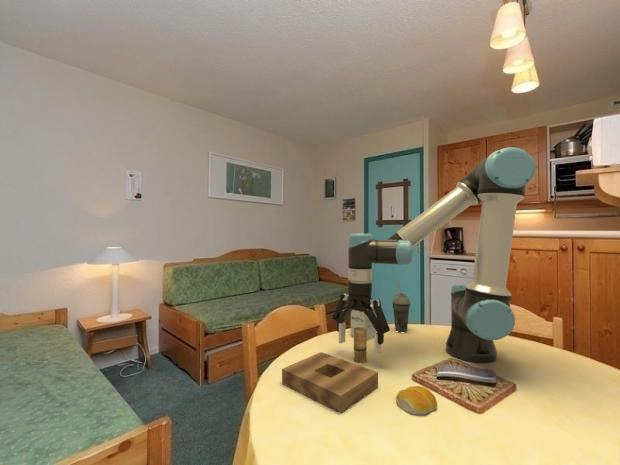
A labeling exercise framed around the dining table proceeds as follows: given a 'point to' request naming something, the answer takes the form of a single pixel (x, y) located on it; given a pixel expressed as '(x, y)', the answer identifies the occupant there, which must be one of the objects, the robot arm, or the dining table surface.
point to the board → (330, 380)
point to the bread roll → (416, 400)
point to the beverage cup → (401, 311)
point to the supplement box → (362, 322)
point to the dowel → (360, 345)
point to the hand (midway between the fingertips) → (359, 348)
